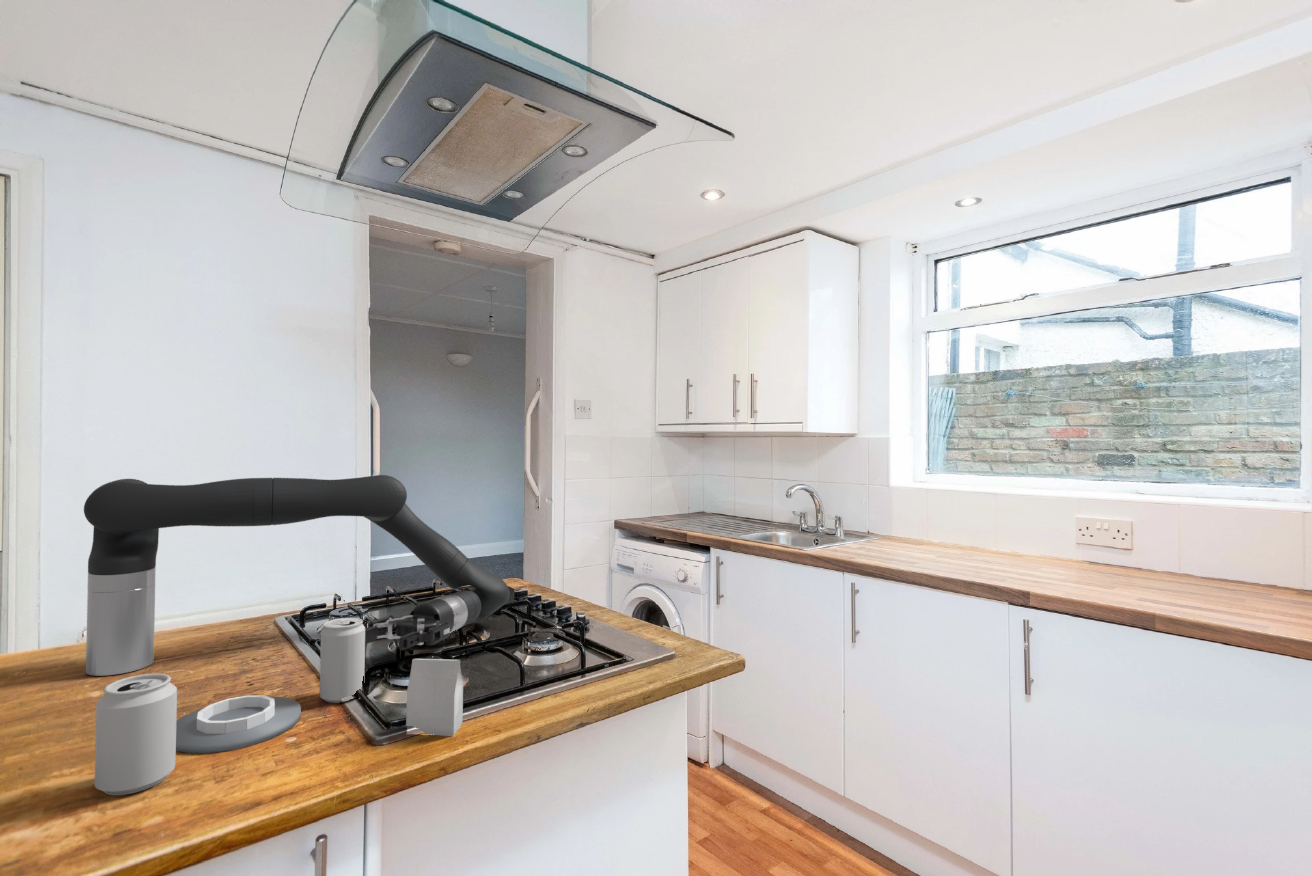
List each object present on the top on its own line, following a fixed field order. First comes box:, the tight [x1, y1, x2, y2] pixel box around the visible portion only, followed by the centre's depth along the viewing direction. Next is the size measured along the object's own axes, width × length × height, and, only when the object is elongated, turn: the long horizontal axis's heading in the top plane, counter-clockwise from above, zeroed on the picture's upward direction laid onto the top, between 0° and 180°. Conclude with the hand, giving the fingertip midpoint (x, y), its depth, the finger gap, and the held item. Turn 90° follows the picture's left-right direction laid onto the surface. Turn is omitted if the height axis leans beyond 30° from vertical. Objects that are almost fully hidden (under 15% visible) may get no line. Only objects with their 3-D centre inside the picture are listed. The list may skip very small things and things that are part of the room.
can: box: [93, 673, 178, 796], centre depth 76 cm, size 8×8×12 cm
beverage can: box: [319, 617, 366, 704], centre depth 102 cm, size 6×6×12 cm
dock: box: [176, 694, 302, 754], centre depth 91 cm, size 16×16×2 cm
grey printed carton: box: [405, 658, 464, 737], centre depth 91 cm, size 4×7×10 cm, turn 89°
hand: (380, 641), depth 110 cm, fingers open, 8 cm apart
